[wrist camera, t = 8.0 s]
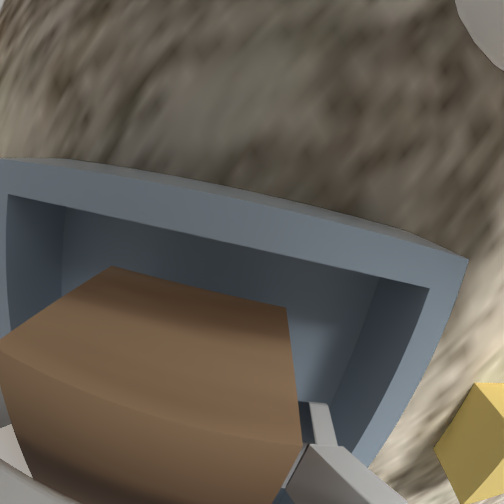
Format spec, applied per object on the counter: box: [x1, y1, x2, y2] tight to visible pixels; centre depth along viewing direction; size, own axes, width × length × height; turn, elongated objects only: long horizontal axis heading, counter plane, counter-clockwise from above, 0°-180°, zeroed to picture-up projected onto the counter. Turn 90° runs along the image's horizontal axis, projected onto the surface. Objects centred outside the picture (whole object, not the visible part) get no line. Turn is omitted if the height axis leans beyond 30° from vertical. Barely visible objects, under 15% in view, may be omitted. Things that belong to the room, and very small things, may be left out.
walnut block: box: [0, 266, 303, 504], centre depth 7 cm, size 5×5×5 cm
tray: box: [0, 158, 469, 504], centre depth 11 cm, size 18×14×4 cm
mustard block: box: [433, 383, 504, 504], centre depth 11 cm, size 5×5×5 cm
